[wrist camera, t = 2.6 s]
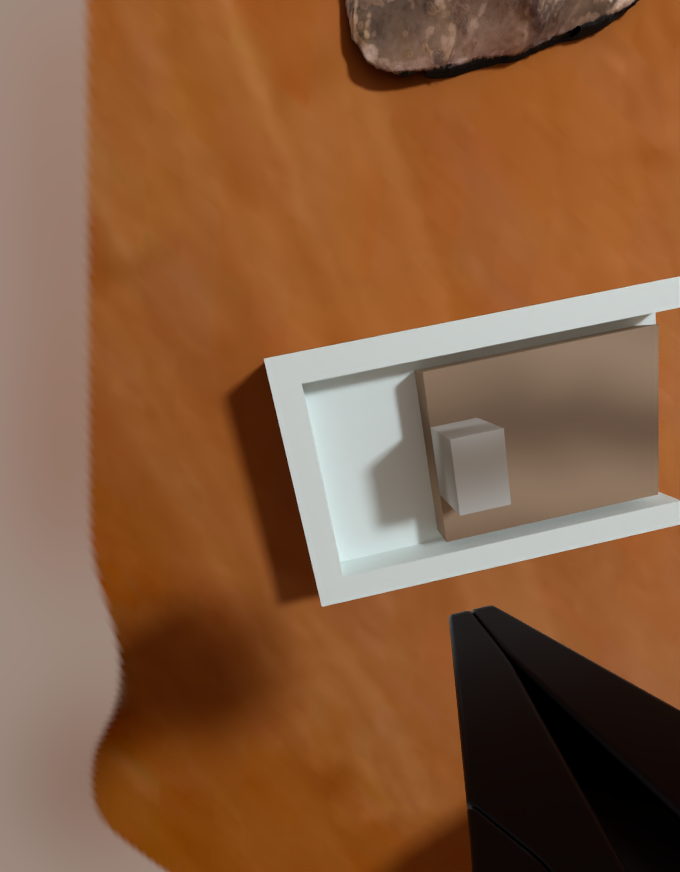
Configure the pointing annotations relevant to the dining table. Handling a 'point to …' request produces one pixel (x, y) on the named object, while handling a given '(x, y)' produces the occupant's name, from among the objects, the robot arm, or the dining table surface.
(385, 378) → the open box
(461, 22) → the shell
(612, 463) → the cover plate
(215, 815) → the dining table surface
